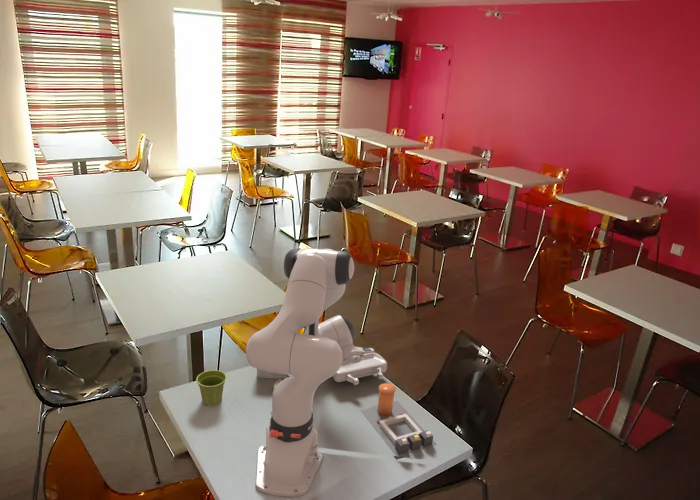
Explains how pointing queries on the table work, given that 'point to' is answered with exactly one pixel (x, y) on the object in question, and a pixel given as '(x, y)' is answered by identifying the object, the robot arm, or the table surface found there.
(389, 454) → the table surface
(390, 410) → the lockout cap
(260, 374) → the light bulb box
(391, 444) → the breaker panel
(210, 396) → the plant pot
